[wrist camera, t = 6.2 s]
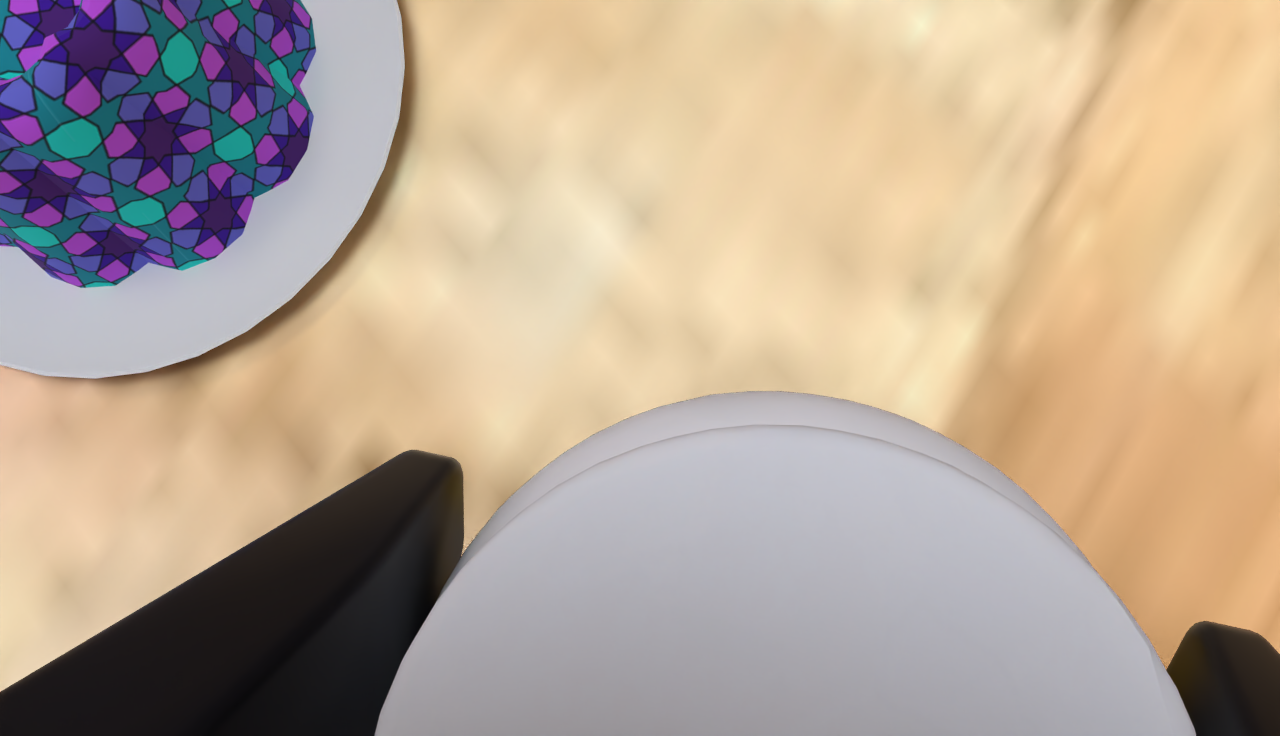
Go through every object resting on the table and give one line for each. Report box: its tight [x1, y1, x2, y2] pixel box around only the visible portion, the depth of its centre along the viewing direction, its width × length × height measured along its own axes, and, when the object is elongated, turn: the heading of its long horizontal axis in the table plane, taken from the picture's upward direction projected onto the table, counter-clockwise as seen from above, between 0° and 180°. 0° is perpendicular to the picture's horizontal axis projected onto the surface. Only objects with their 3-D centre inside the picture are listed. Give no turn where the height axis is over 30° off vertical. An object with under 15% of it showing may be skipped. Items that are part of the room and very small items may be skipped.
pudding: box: [0, 0, 405, 379], centre depth 21 cm, size 12×12×5 cm
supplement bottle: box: [374, 391, 1196, 736], centre depth 10 cm, size 5×5×10 cm
